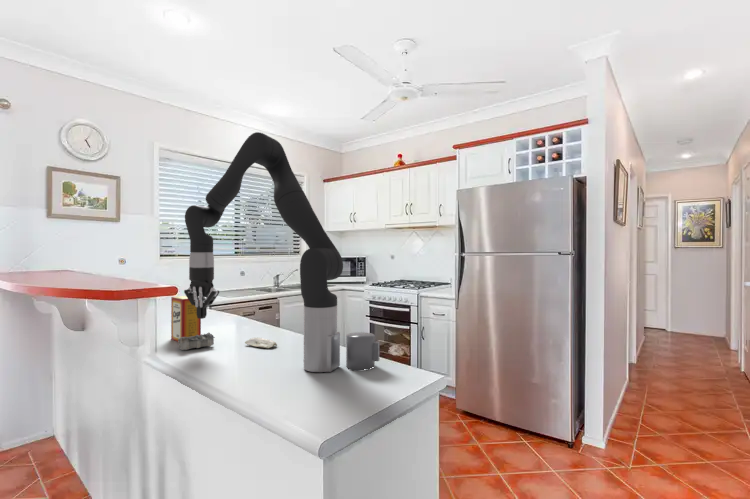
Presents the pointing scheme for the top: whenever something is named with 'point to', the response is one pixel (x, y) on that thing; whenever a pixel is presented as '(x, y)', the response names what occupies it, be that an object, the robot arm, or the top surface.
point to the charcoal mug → (361, 351)
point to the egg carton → (196, 341)
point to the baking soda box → (184, 318)
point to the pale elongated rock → (261, 342)
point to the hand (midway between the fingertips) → (201, 318)
